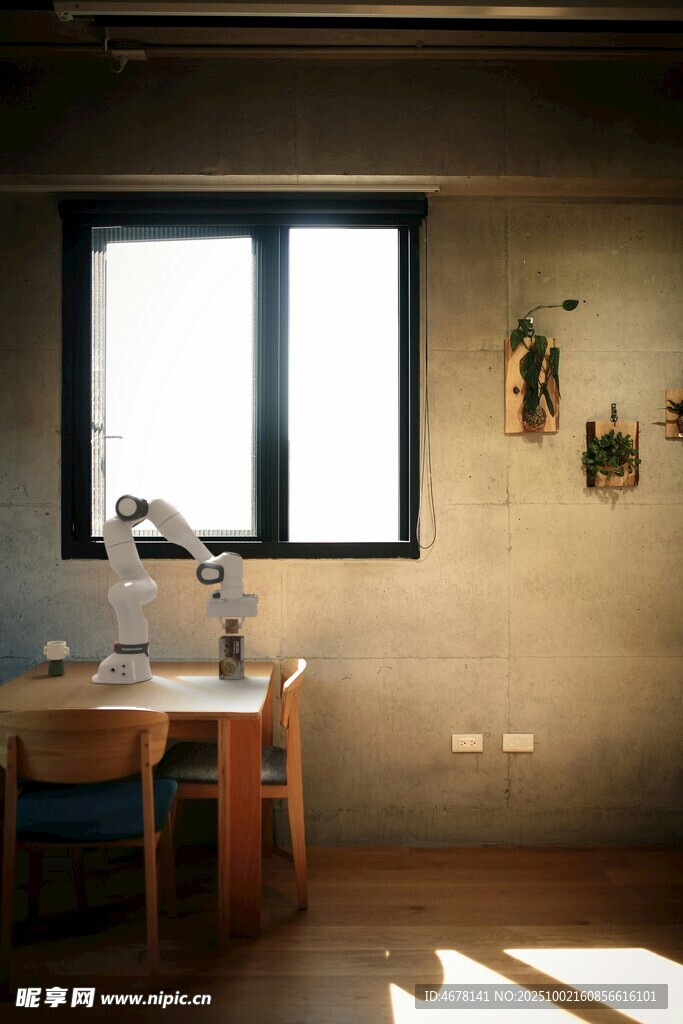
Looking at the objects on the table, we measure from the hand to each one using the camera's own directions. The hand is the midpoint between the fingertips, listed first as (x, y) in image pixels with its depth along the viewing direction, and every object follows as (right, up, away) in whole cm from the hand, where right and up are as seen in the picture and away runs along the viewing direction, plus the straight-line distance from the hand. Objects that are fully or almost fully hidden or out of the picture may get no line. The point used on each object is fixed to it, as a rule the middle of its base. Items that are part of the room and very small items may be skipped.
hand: (231, 628), depth 298 cm
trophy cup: (-70, -19, +2) cm, 73 cm away
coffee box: (0, -20, 0) cm, 20 cm away
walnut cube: (0, -2, 0) cm, 2 cm away
